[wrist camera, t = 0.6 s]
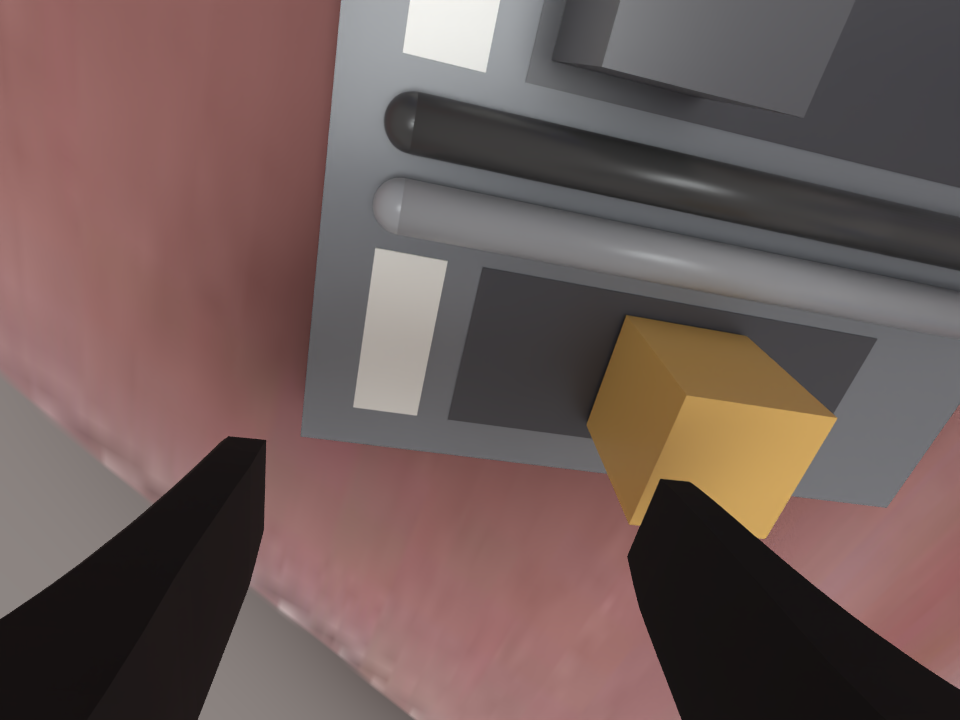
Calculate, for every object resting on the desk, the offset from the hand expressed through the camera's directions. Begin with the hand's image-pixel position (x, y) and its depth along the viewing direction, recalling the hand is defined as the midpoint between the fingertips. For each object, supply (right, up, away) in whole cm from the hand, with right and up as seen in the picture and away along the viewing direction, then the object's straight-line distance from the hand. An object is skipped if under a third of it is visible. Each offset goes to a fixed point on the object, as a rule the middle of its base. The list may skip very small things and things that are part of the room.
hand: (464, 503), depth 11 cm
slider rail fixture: (+7, +7, +8) cm, 13 cm away
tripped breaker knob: (+6, +2, +8) cm, 10 cm away
